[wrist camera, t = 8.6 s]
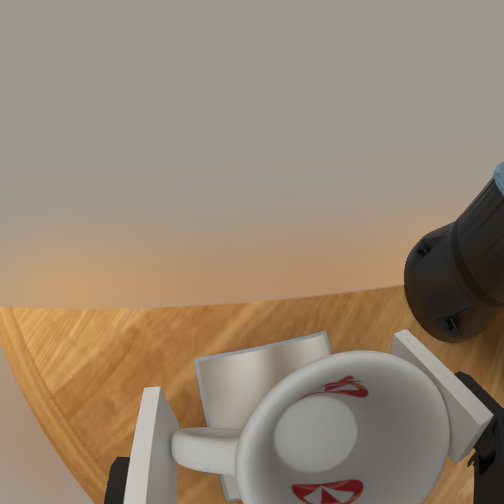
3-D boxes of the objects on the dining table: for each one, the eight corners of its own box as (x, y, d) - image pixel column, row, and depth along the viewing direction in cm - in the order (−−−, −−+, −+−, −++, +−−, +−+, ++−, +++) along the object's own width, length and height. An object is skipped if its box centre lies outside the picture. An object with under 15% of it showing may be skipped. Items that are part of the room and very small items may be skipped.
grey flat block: (315, 339, 29) (326, 329, 25) (345, 459, 23) (361, 470, 18) (202, 363, 28) (192, 357, 24) (230, 487, 22) (225, 503, 17)
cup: (194, 487, 12) (151, 543, 5) (198, 366, 16) (154, 344, 9) (373, 481, 12) (441, 520, 5) (375, 365, 16) (449, 338, 9)
